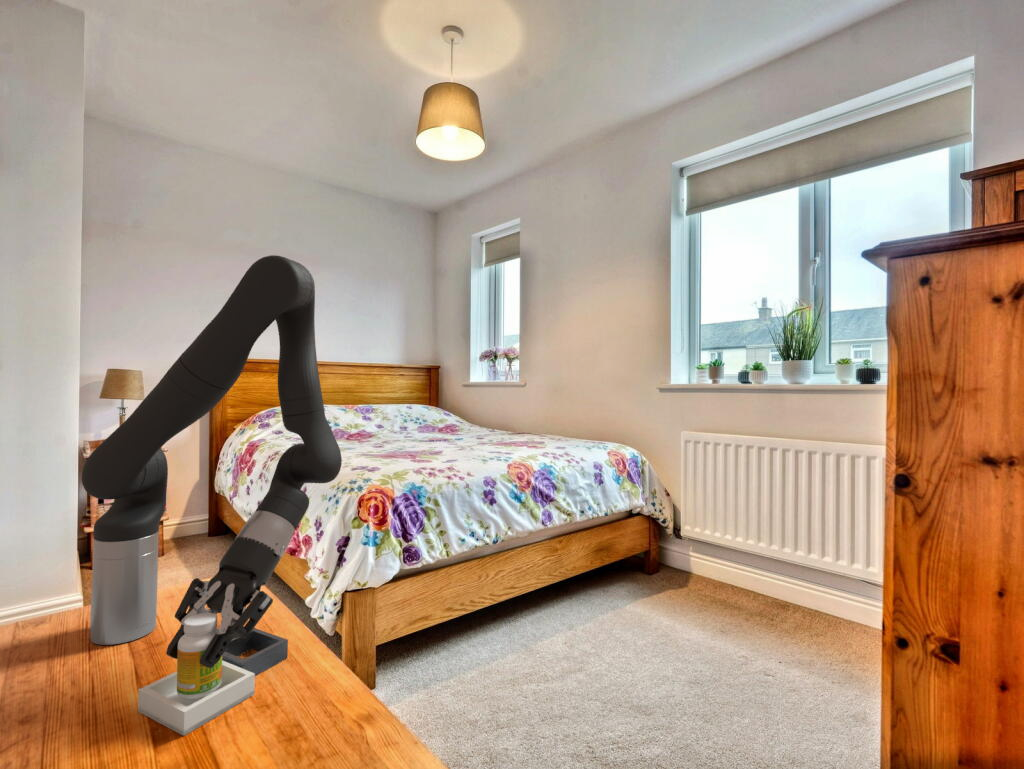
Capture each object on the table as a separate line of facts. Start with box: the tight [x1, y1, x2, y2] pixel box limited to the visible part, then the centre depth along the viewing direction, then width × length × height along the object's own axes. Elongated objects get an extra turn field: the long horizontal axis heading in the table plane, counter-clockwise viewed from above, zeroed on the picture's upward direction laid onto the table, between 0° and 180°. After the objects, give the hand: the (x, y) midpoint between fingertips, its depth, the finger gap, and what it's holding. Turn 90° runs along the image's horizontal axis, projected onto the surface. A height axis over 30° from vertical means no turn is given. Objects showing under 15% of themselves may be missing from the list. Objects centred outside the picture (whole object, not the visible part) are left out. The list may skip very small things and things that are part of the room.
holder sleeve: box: [222, 627, 289, 677], centre depth 82 cm, size 8×8×3 cm
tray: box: [137, 660, 256, 737], centre depth 72 cm, size 10×10×3 cm
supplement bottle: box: [176, 613, 222, 699], centre depth 72 cm, size 5×5×10 cm
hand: (188, 660), depth 71 cm, fingers closed on supplement bottle, 5 cm apart
